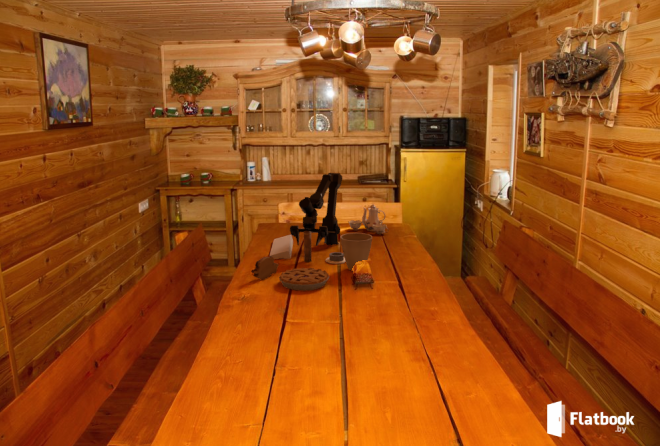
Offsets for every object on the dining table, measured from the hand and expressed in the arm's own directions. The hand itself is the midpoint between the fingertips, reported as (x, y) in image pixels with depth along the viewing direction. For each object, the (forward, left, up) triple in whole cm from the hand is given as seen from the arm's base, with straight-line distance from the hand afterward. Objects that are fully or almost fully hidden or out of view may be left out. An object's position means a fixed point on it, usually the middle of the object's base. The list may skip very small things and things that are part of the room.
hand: (307, 245), depth 277 cm
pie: (+14, +30, -9) cm, 34 cm away
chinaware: (-61, -44, -9) cm, 75 cm away
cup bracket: (-14, +5, -8) cm, 17 cm away
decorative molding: (+4, -26, -9) cm, 28 cm away
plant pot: (-16, +22, -9) cm, 28 cm away
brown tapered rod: (-1, -1, -8) cm, 8 cm away
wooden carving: (+27, +15, -9) cm, 32 cm away
